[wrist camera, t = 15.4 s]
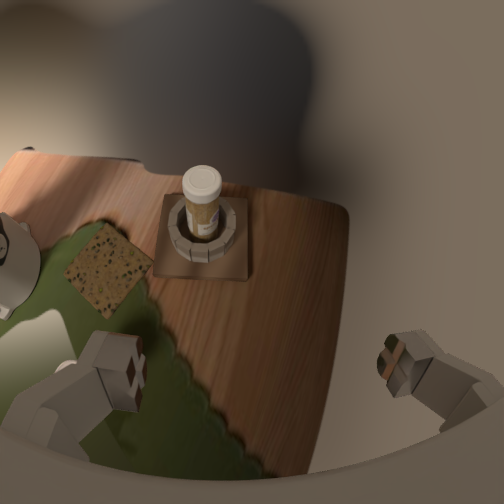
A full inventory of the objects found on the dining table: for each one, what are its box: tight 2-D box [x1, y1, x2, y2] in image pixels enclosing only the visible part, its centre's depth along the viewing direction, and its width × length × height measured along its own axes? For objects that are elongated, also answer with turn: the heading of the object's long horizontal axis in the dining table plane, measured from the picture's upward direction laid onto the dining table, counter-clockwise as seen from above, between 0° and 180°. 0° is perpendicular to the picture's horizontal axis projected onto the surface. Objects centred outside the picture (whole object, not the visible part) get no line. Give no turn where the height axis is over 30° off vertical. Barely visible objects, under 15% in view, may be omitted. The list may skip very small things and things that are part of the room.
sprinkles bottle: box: [182, 165, 222, 244], centre depth 36 cm, size 5×5×14 cm
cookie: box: [64, 223, 154, 319], centre depth 39 cm, size 12×12×1 cm
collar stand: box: [153, 194, 248, 282], centre depth 41 cm, size 14×14×6 cm
